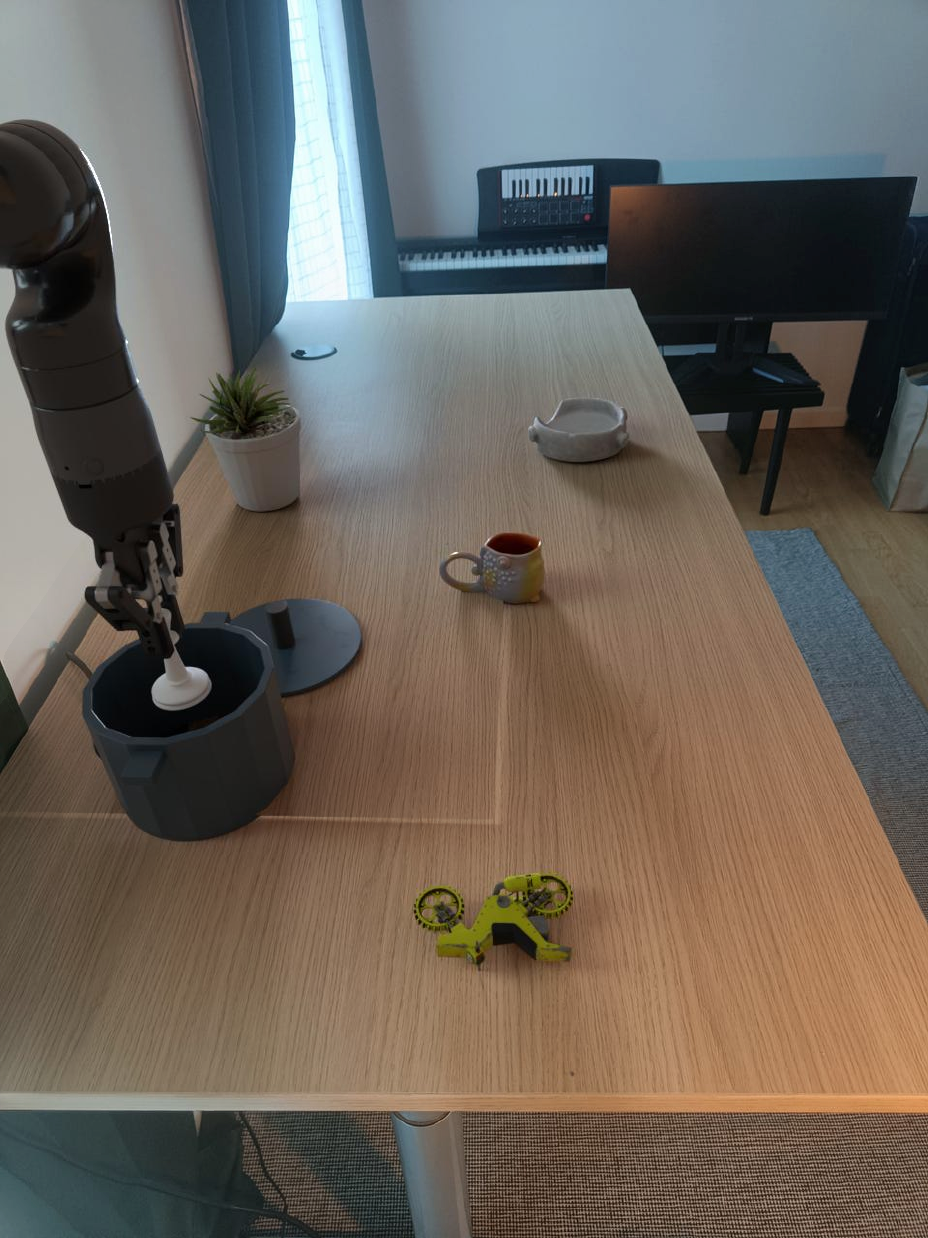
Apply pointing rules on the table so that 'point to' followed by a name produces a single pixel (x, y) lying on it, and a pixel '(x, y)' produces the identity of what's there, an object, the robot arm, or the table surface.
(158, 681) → the chess piece
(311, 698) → the table surface
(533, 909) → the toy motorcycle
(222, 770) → the pot
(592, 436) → the dish
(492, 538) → the mug
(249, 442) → the potted plant
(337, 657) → the lid
